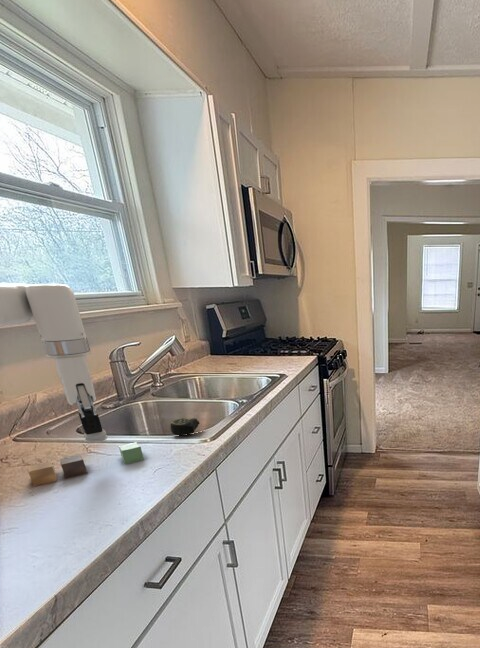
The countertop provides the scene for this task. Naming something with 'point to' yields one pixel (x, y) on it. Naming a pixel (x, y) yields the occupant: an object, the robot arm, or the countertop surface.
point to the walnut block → (73, 466)
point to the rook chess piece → (95, 436)
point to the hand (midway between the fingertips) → (93, 429)
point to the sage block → (131, 452)
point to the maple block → (42, 473)
